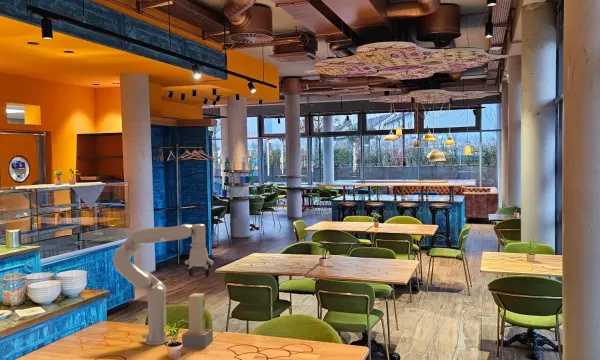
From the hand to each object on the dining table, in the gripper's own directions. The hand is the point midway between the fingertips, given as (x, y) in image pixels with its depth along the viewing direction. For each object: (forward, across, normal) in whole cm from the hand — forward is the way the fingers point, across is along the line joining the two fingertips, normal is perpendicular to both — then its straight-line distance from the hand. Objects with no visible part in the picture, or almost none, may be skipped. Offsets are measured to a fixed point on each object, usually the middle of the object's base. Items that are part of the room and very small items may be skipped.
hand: (199, 276), depth 293 cm
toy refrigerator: (+30, +3, -9) cm, 31 cm away
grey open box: (+36, +3, -9) cm, 37 cm away
